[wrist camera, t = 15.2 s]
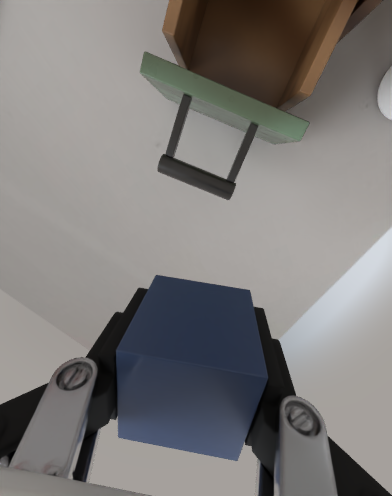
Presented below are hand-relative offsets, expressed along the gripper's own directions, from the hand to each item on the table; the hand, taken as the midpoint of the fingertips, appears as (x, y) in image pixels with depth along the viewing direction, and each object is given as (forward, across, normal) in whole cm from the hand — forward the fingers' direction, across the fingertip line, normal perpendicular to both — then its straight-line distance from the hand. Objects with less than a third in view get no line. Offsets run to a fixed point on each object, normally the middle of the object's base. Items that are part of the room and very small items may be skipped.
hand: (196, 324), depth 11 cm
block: (0, 0, 0) cm, 0 cm away
